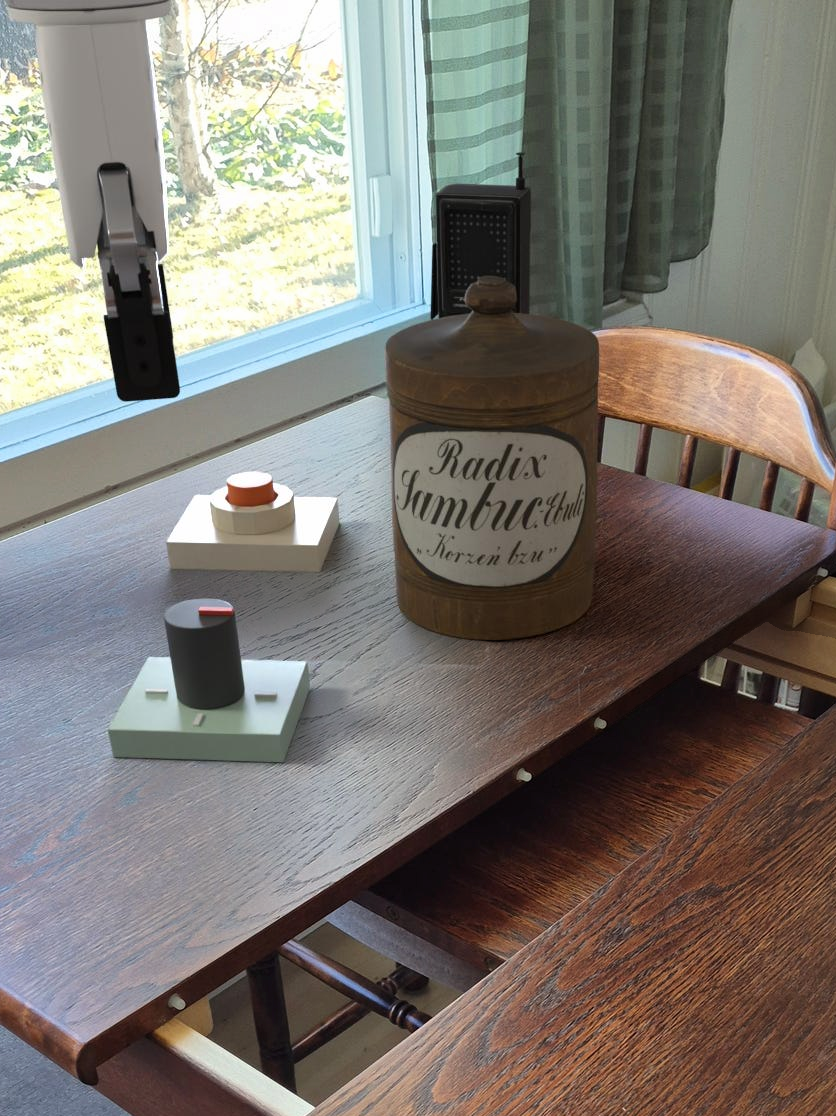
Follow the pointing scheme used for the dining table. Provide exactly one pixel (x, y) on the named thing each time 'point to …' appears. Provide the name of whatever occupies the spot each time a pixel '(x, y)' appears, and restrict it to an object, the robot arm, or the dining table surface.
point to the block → (254, 533)
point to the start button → (250, 489)
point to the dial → (204, 653)
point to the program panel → (212, 716)
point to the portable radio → (480, 242)
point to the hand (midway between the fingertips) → (147, 370)
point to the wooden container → (493, 468)
